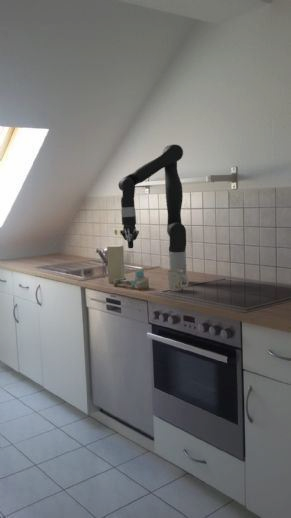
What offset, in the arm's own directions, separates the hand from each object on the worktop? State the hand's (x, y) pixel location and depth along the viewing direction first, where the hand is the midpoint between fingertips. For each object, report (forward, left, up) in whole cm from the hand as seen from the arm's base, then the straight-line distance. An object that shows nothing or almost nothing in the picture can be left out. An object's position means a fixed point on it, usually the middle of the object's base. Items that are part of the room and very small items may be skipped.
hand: (130, 248), depth 273 cm
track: (+1, -1, -21) cm, 21 cm away
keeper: (-3, +2, -20) cm, 20 cm away
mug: (-26, +11, -22) cm, 36 cm away
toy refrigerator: (+12, -19, -22) cm, 31 cm away
